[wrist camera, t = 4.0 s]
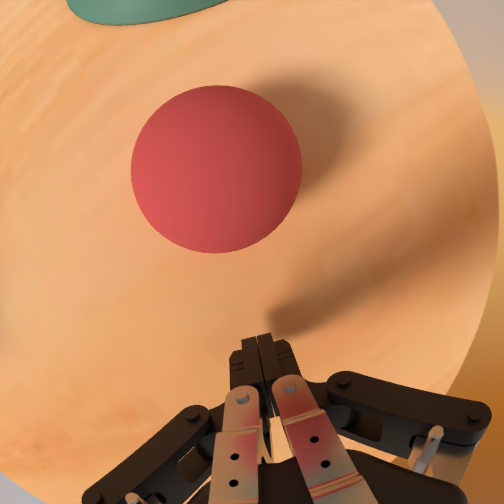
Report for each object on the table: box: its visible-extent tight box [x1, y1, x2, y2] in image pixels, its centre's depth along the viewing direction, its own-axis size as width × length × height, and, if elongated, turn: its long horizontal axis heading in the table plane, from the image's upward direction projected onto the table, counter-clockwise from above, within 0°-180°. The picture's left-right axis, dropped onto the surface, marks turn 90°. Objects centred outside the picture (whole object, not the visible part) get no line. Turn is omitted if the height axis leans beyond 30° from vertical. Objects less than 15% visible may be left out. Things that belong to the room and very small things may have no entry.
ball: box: [131, 85, 302, 253], centre depth 10 cm, size 6×6×6 cm
